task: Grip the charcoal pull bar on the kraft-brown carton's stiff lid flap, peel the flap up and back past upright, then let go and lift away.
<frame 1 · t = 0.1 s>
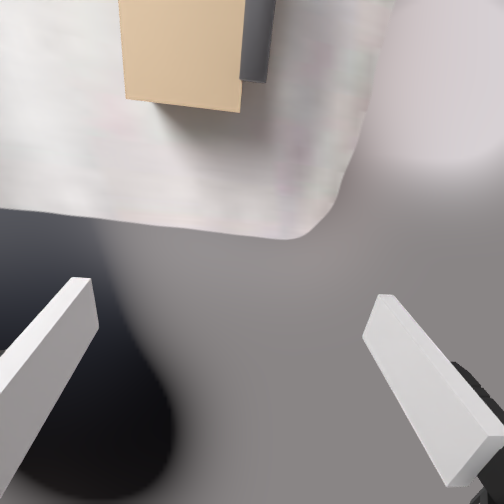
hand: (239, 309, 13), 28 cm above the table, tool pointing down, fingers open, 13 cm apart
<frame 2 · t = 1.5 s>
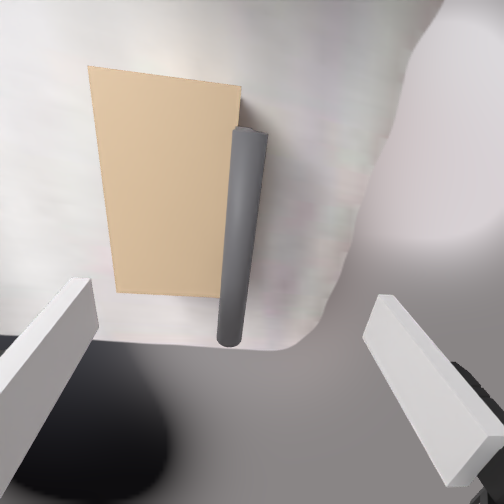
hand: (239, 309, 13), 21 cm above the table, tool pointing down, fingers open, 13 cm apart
flap: (168, 224, 20), point 13 cm above the table, hinge at 0.0°
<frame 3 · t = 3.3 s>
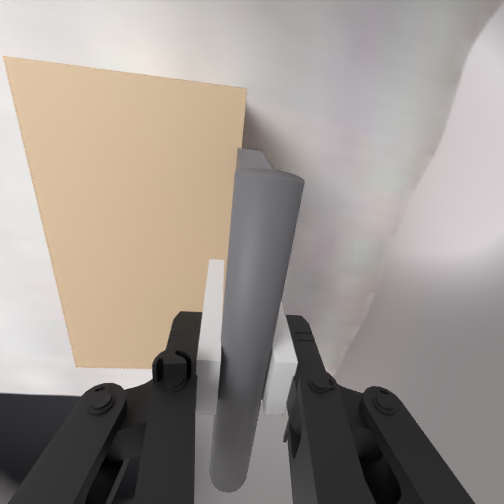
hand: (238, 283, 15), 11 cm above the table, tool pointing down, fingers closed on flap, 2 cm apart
flap: (135, 298, 13), point 13 cm above the table, hinge at 0.0°, touching gripper
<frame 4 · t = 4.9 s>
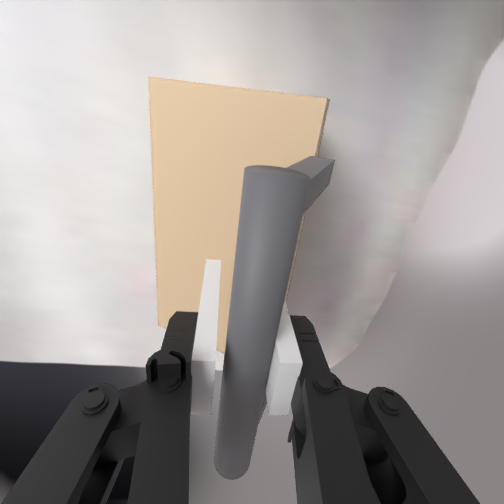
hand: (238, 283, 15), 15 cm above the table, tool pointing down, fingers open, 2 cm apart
flap: (193, 275, 16), point 15 cm above the table, hinge at 27.3°, touching gripper
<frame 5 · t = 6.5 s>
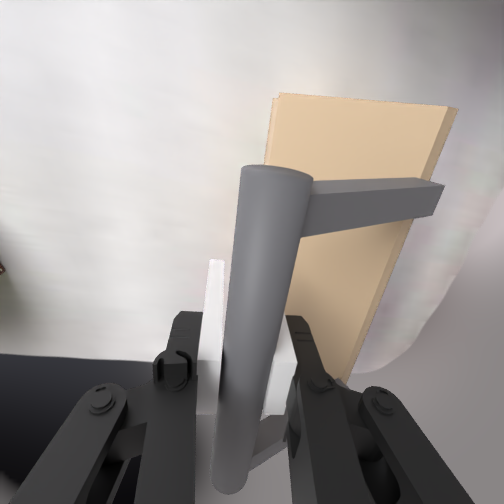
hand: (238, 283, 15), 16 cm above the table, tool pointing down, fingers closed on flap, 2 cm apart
flap: (258, 278, 16), point 15 cm above the table, hinge at 62.0°, touching gripper
carton: (306, 201, 30), on the table
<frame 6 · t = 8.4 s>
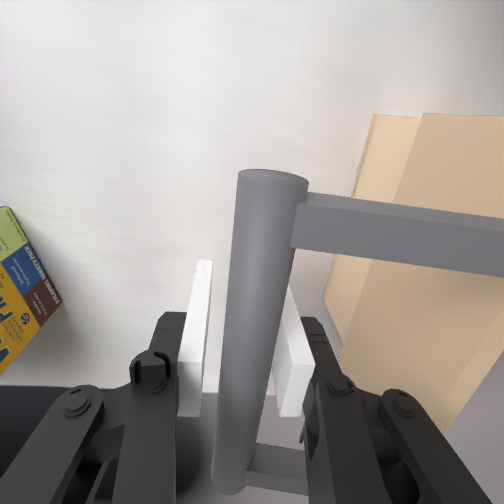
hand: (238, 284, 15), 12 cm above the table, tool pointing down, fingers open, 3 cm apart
flap: (328, 303, 15), point 13 cm above the table, hinge at 99.2°
carton: (394, 224, 27), on the table
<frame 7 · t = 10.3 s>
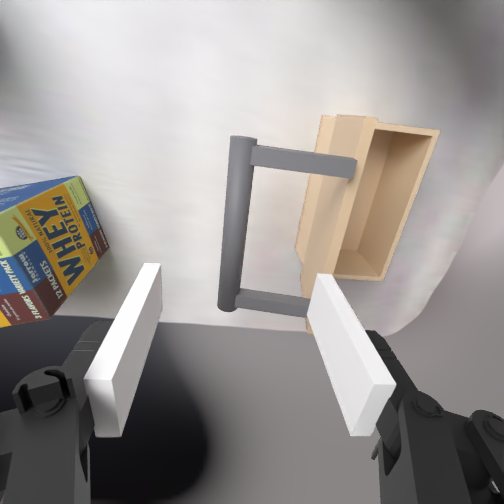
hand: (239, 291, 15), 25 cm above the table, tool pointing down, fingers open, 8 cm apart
flap: (281, 219, 27), point 13 cm above the table, hinge at 99.3°
carton: (342, 191, 39), on the table
protein box: (40, 221, 38), on the table
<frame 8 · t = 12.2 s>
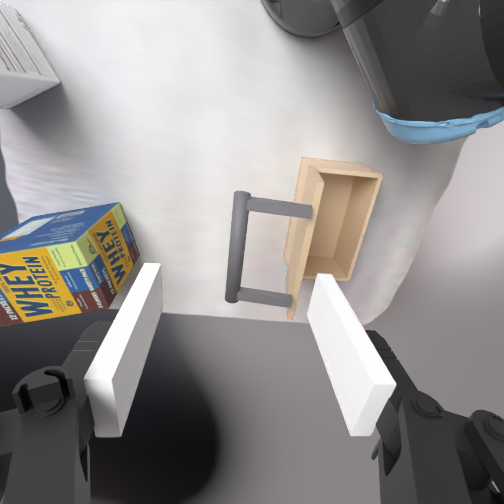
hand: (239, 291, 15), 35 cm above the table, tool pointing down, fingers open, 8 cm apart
flap: (269, 238, 38), point 13 cm above the table, hinge at 99.3°
carton: (319, 212, 51), on the table
protein box: (88, 236, 50), on the table
supplement box: (13, 62, 38), on the table
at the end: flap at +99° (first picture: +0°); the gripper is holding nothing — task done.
